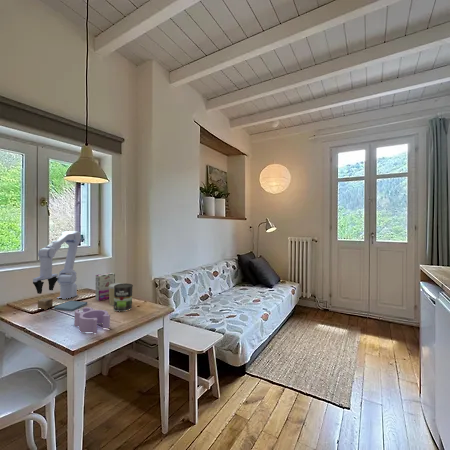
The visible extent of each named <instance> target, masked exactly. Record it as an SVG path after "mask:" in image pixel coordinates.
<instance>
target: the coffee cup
mask: <svg viewBox="0 0 450 450" xmlns="http://www.w3.org/2000/svg"><path fill="white" fill-rule="evenodd" d="M117 284H124V283H123V282H115V283H114V284H110V285H109V301H108V302H109V305H110V306H111V307H114V286H115V285H117Z"/></svg>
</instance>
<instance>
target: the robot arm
mask: <svg viewBox="0 0 450 450" xmlns="http://www.w3.org/2000/svg"><path fill="white" fill-rule="evenodd" d="M81 239H82V236H81V233H80V232H79V231H78V230H76V231H74V230H73V231H71V230H70V231H68V230H67V231H66V230H63V231H62V232H61V234H60V236H59V237H58V238H57V239H56V240H52V241H51V242H50V243H49V244H48V245H46V246H45V247H43V248H40V249H39V250H38V253H37V257H38V258H39V263H40V264H39V276H37V277H34V278H32V284H33V285H34V287H35V290H36V293H37V294H39V295H41V294H42V293H43V285H44V283H45V282H44V280H47V281H48V290H49V291H54V288H55V285H56V283H58V284H59V285H60V286H59V291H60V292H59V296H57V297H56V299H59V298H62V299H61V300H69V299H71V297H72V298H74V297H77V296H78V293H77V292H78V291H77V290H78V288H77V287H78V286H77V283H76V281H77V271H75V270H74V266H75V261H76V255H77V251H78V245H79V244H80V241H81ZM63 244H67V246H68V248H67V252H66V253H67V254H66V258H65V262H64V267H63V269H62V270H60V271H59V273H53V258H54V257H55V256H56V253H57V252H58V251H59V250H60V249H61V248H62V245H63ZM66 298H67V299H66ZM68 298H69V299H68Z"/></svg>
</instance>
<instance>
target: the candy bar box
mask: <svg viewBox="0 0 450 450" xmlns="http://www.w3.org/2000/svg"><path fill="white" fill-rule="evenodd" d="M114 283H116V273H114V272H107V273H102V274H96V275H95V300H96V301H97V302H101V301H105V300H108V299H109V285H110V284H114Z"/></svg>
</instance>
